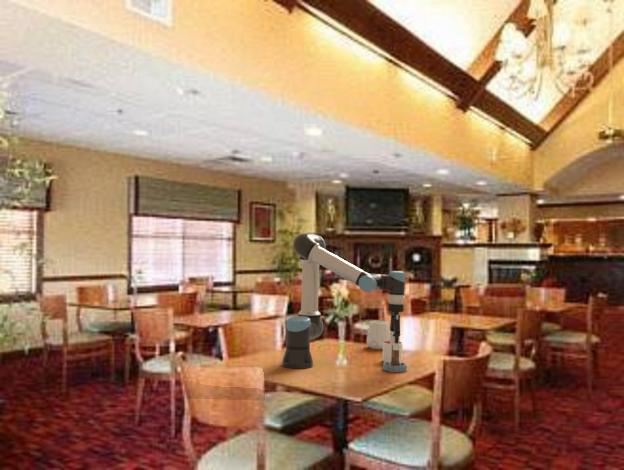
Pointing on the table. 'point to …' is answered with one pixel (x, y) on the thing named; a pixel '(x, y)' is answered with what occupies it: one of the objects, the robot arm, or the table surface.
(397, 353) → the wooden rectangular block
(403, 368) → the blue bowl
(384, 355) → the cup
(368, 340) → the vase
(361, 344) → the table surface
